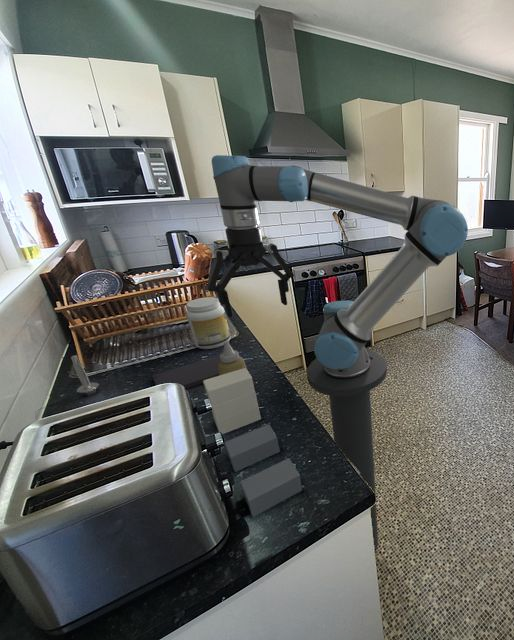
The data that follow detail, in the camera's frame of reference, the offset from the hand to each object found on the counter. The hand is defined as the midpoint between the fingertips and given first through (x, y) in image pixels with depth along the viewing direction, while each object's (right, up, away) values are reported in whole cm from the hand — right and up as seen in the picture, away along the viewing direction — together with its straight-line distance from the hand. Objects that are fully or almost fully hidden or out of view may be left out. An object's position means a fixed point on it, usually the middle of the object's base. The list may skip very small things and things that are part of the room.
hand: (258, 309), depth 91 cm
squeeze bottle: (-12, -26, +13) cm, 31 cm away
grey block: (+3, -35, -8) cm, 36 cm away
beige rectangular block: (-7, -30, +2) cm, 31 cm away
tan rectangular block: (-6, -22, -1) cm, 23 cm away
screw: (-56, -25, +12) cm, 62 cm away
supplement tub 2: (-38, -12, +42) cm, 58 cm away
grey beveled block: (+12, -40, -18) cm, 45 cm away
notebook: (-31, -21, +22) cm, 43 cm away
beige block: (-6, -26, +1) cm, 27 cm away
